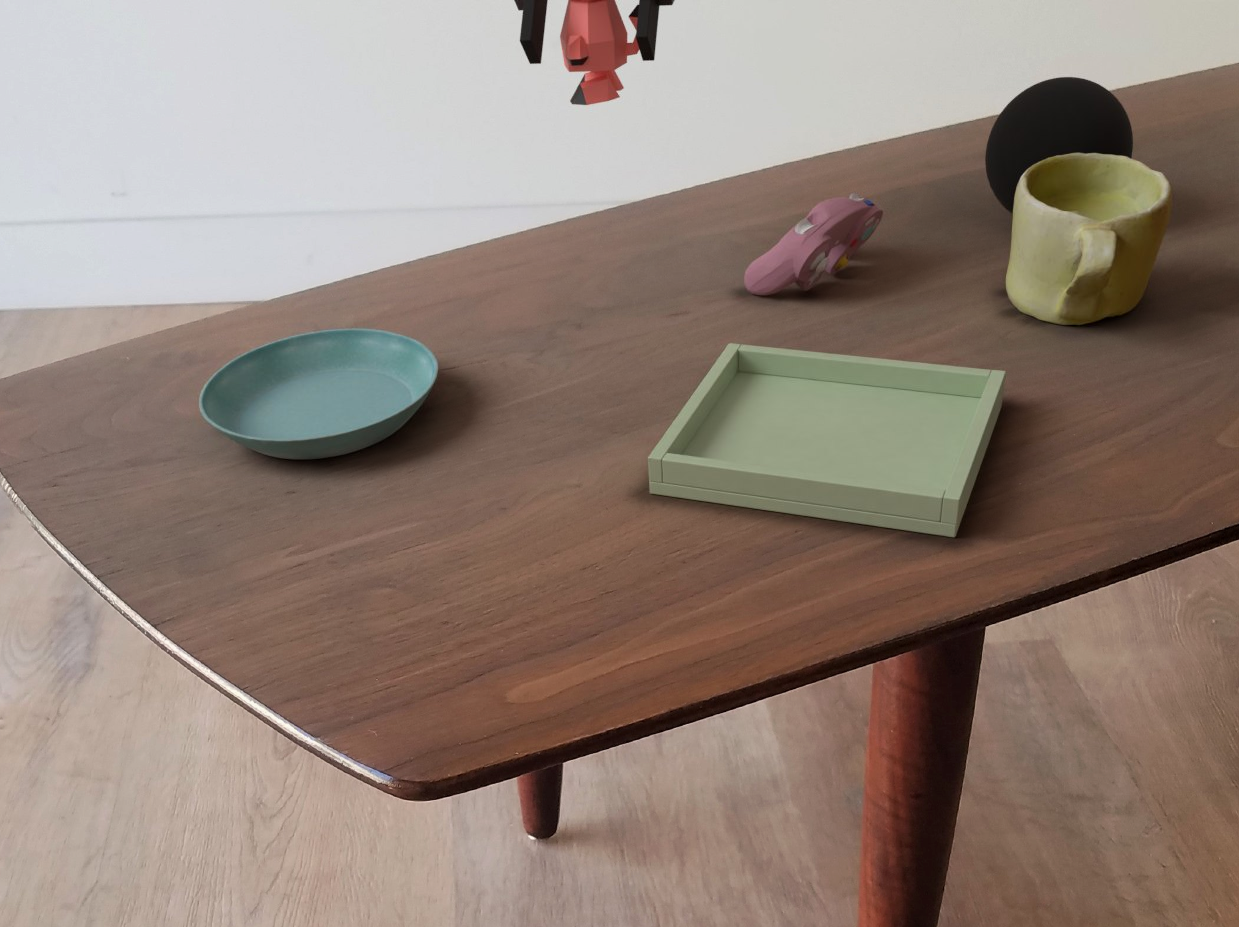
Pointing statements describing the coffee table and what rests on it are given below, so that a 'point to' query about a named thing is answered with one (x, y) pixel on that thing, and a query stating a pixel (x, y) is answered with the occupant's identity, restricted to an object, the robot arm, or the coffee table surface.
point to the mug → (1085, 236)
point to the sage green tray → (832, 437)
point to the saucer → (320, 392)
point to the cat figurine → (596, 48)
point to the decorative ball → (1053, 130)
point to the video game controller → (815, 245)
